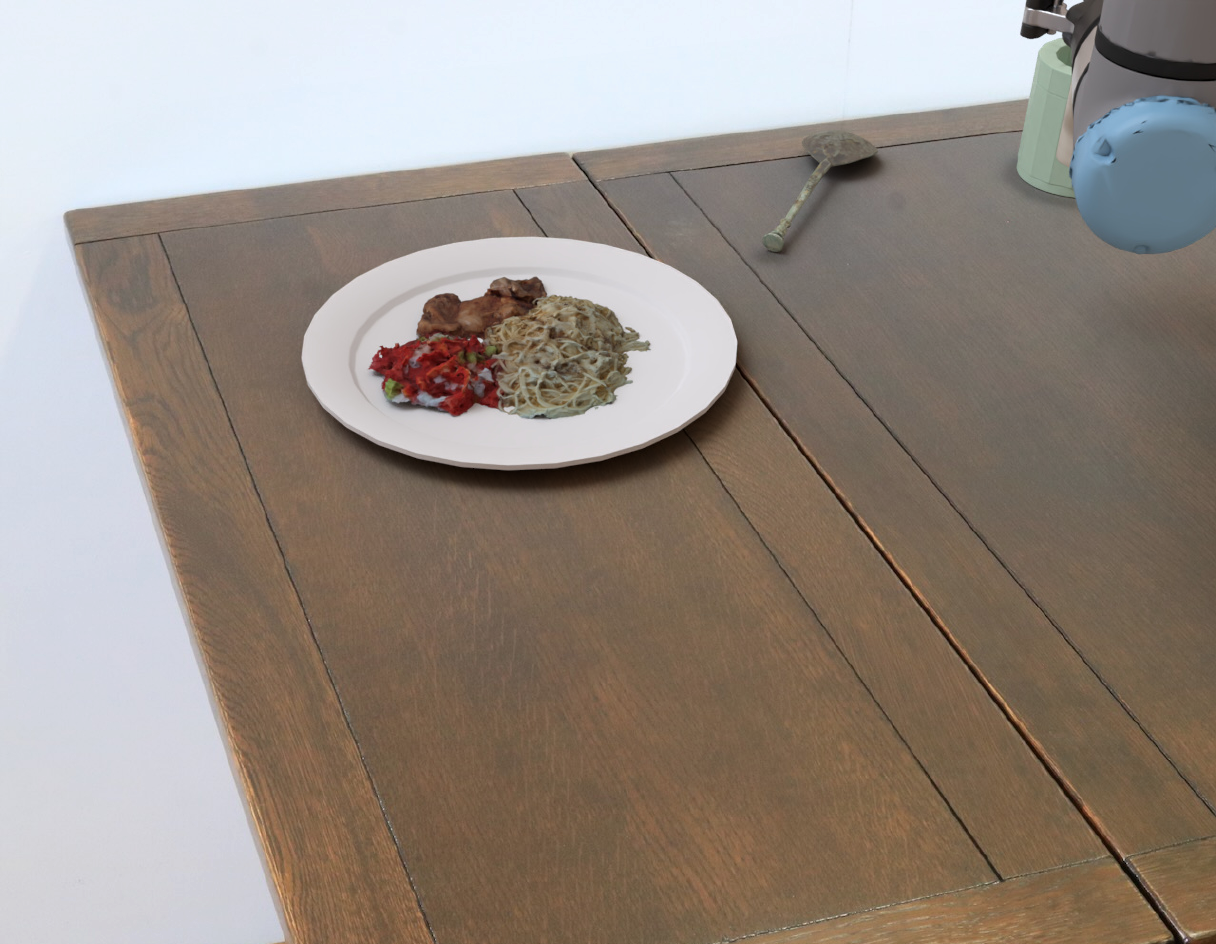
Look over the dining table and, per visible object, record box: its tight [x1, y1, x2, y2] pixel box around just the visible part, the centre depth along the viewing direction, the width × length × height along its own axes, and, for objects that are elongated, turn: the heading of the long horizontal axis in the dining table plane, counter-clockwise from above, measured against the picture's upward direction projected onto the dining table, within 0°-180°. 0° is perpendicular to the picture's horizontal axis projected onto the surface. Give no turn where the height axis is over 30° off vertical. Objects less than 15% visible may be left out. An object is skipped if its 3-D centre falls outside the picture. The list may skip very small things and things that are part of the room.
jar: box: [1016, 37, 1076, 199], centre depth 125 cm, size 10×10×10 cm
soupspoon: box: [762, 129, 879, 253], centre depth 124 cm, size 22×3×7 cm
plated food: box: [301, 236, 738, 471], centre depth 103 cm, size 30×30×3 cm
